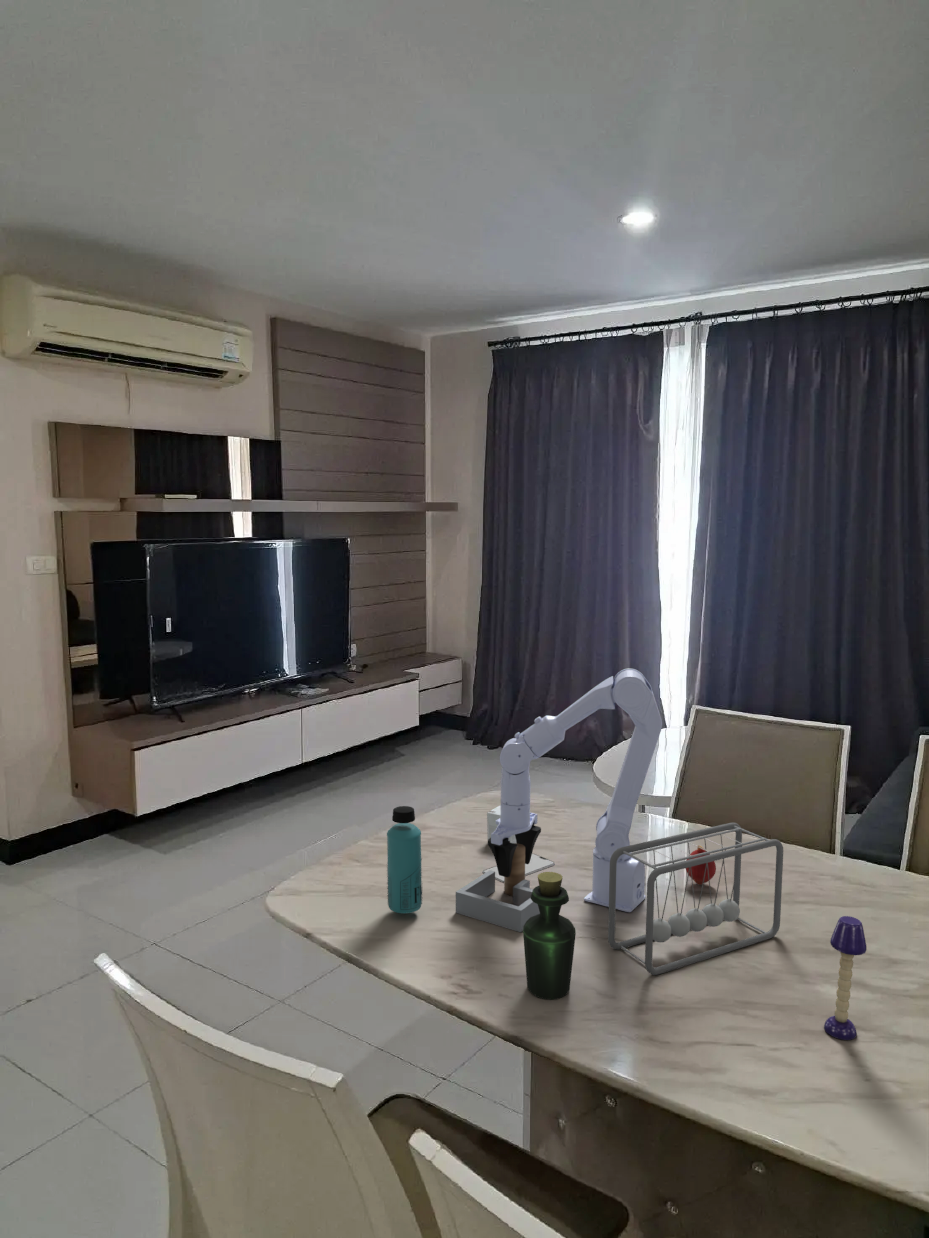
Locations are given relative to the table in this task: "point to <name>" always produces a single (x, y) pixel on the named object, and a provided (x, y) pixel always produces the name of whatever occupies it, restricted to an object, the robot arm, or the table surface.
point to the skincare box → (492, 825)
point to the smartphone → (527, 866)
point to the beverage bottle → (404, 862)
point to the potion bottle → (549, 940)
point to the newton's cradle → (694, 917)
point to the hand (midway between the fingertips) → (514, 869)
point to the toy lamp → (845, 974)
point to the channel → (496, 903)
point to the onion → (701, 868)
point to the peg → (516, 870)
